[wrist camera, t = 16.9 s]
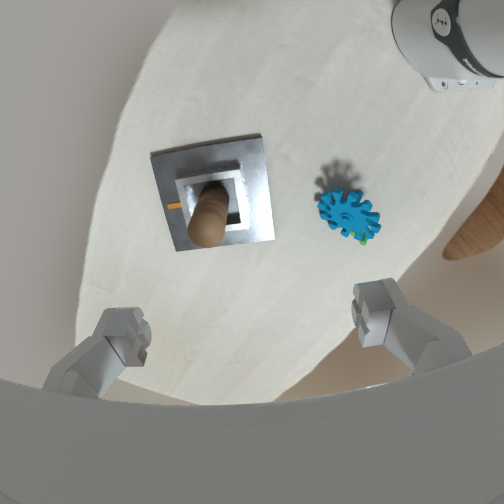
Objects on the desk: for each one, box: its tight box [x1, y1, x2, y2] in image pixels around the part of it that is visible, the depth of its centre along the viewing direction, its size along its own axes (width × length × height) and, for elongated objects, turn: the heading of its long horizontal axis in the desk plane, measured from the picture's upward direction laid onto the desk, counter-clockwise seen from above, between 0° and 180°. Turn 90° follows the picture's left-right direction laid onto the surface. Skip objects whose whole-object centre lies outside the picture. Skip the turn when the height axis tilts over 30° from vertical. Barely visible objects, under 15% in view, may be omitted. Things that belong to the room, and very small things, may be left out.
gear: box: [317, 189, 381, 245], centre depth 42 cm, size 11×6×10 cm
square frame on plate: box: [150, 137, 274, 252], centre depth 42 cm, size 16×16×3 cm
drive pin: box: [187, 185, 229, 248], centre depth 38 cm, size 4×4×10 cm
